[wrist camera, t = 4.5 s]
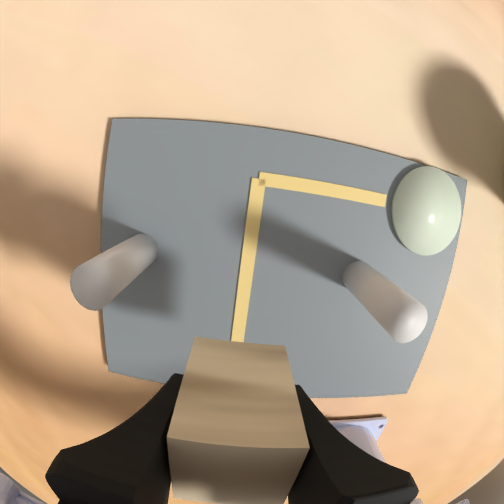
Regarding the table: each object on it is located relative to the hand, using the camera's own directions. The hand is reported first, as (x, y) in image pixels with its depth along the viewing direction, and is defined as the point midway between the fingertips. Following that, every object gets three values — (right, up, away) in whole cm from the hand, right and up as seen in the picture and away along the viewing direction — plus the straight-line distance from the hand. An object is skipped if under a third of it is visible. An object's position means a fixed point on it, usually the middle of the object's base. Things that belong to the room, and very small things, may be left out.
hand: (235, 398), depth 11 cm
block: (0, 0, +2) cm, 2 cm away
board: (+3, +4, +7) cm, 9 cm away
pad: (+12, +9, +6) cm, 17 cm away
